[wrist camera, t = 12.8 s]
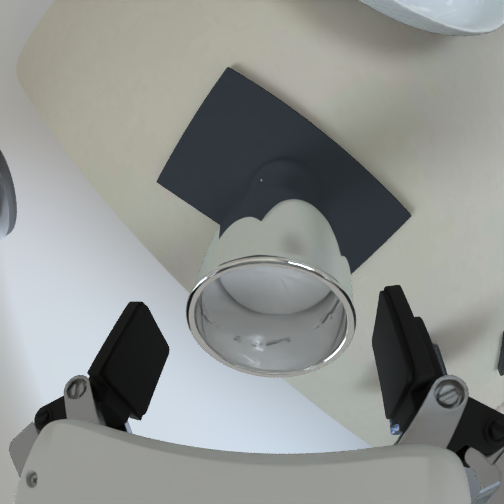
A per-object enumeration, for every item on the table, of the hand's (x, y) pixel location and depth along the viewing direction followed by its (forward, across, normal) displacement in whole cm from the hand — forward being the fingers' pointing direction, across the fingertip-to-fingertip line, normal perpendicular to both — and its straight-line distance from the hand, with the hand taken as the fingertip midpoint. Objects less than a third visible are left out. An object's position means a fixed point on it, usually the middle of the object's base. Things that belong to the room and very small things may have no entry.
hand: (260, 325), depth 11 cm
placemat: (+15, -1, 0) cm, 15 cm away
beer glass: (+15, -1, 0) cm, 15 cm away
